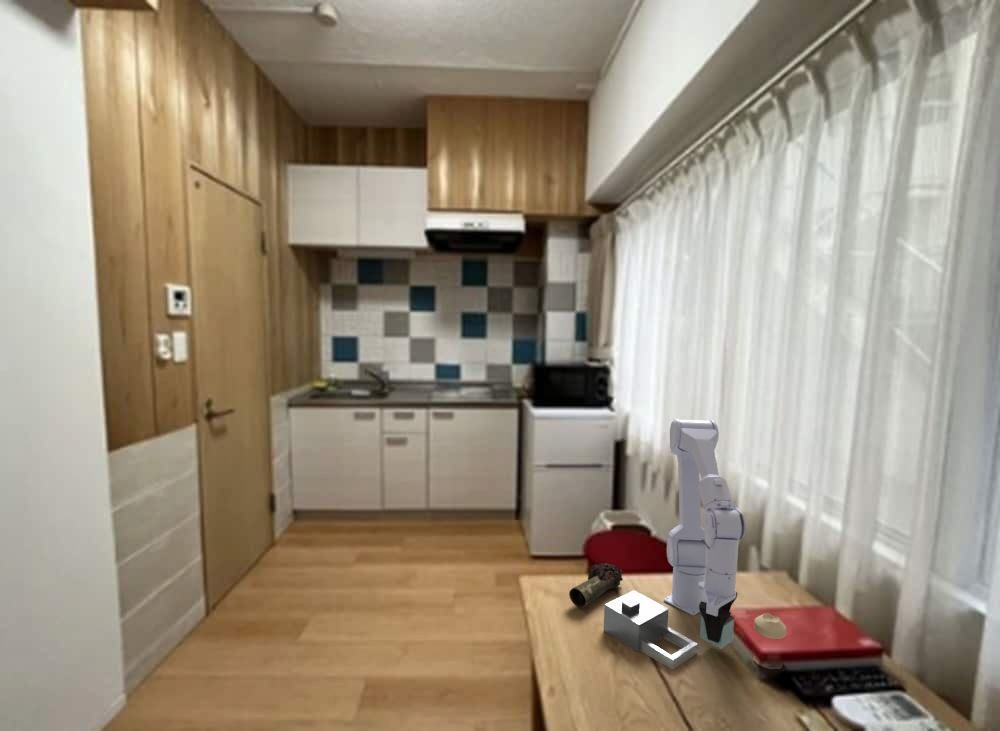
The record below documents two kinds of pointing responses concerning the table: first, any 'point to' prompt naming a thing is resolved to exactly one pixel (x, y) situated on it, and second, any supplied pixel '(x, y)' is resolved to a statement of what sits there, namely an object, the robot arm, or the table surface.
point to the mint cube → (726, 633)
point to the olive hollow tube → (596, 584)
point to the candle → (770, 626)
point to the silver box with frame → (645, 628)
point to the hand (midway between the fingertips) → (716, 632)
